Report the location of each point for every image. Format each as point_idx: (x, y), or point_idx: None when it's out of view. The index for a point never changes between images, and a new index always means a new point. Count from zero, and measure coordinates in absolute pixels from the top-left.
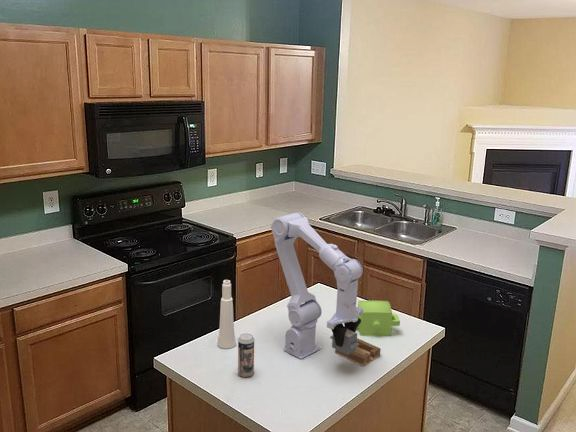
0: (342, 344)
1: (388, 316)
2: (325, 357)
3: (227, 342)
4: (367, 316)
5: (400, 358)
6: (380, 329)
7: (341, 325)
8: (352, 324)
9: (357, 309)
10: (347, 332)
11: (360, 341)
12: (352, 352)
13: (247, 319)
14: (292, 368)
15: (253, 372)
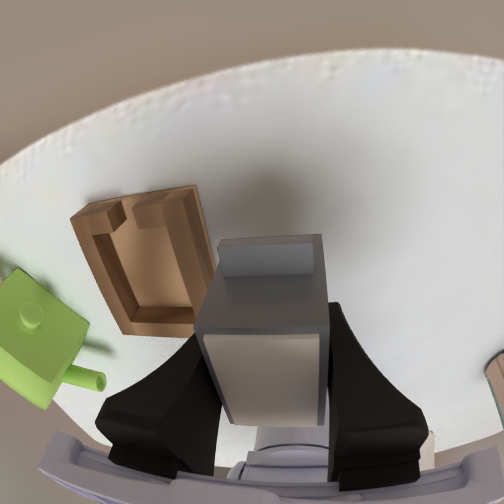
0: (330, 311)
1: None
2: None
3: (430, 444)
4: (40, 360)
5: (40, 150)
6: (29, 299)
7: (361, 467)
8: (189, 420)
9: (84, 494)
10: (265, 378)
11: (114, 299)
12: (193, 268)
13: None
14: (423, 329)
15: (502, 356)
